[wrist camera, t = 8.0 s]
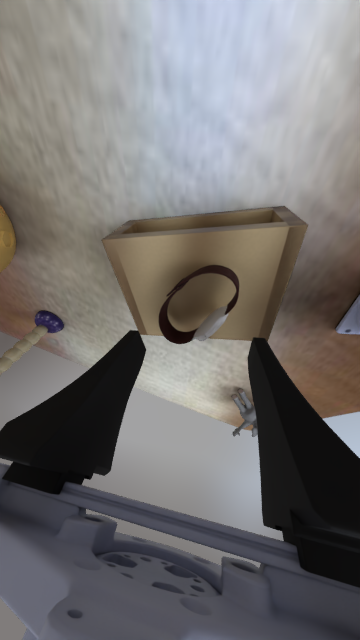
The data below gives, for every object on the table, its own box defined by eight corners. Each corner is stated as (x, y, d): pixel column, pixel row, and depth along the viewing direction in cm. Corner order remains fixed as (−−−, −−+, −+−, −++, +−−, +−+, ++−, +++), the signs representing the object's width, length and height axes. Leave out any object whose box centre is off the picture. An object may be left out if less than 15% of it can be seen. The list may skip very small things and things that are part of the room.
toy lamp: (29, 310, 28) (-115, 426, 16) (47, 304, 26) (-100, 430, 14) (53, 330, 31) (-54, 441, 19) (71, 326, 29) (-35, 446, 17)
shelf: (284, 206, 13) (308, 224, 9) (259, 308, 20) (267, 341, 16) (128, 220, 16) (101, 239, 12) (152, 306, 22) (139, 334, 19)
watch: (191, 333, 17) (185, 365, 15) (150, 309, 16) (137, 339, 13) (255, 283, 12) (264, 316, 10) (204, 241, 11) (199, 267, 8)
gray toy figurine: (267, 383, 30) (288, 420, 32) (247, 371, 36) (265, 403, 38) (223, 419, 29) (248, 456, 30) (209, 401, 35) (230, 433, 36)
